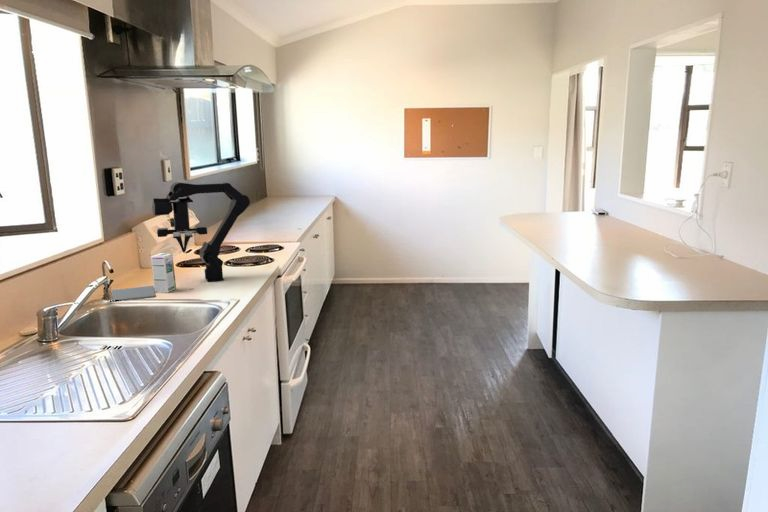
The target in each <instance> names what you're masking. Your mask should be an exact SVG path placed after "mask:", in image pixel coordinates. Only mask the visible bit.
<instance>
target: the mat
mask: <svg viewBox="0 0 768 512" xmlns="http://www.w3.org/2000/svg"><path fill="white" fill-rule="evenodd" d="M110 290H111V291H112V294H113V299H111V300H112V301H114V300H124V301H129V300H128V299H133V300H139V299H142V300H143V299H150V298H156V294H155V293H156V292H155V287H154V285H147V286H146V285H145V286H137V287H129V288H118V289H110ZM111 300H110V301H111ZM108 301H109V300H108V299H107V302H108Z"/></svg>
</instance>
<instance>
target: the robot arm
mask: <svg viewBox="0 0 768 512" xmlns="http://www.w3.org/2000/svg"><path fill="white" fill-rule="evenodd" d="M169 189H170V191H168V194H167V195H166V196H165V197H161V198H160V197H159V198H157V197H153V198H152V206H151V209H152V216H155V217H156V216H170V214H171V213H173V218H170V219H169V221H170V228H172V229H169V228H168V227H158V228H157V230H156V234H157V237H158V238H164V237H167V236H168V235H172V239H175V240H176V241H177V243H178V244H179V246H180V248H181V250H182V253H186V250H187V246H188V244H189V241H190V238H193V237H194V235H193V234H196V233H197V234H198V235H200V236H201V235H207V234H208V228H207V226H206V225H196V227H194V228H193V227H192V228H191V227H190V226H191V225H190V214H189V203H193V202H194V200H193V199H192V198H190V196H193V195H197V194H213V193H214V194H215V193H217V194H218V193H224V194H225V195H226V197H227V198H229V199H230V203H229V207H228V211H227V213H226V215H225V216H224V218H223V220H222V222H221V223H220V225H219V226H218V228H217V229H216V231H215V233H214V235H213V237H212V238H211V239H210V241H208V242H206V241H204V242H203V244H202V246H201V247H200V248H199V253H198V254H199V258H200V260H202V261H203V262H204V263H205V268H204V278H205V280H206V281H207V282H208V283H209V282H219V281H224V279H225V278H224V276H223V275H224V274H223V264H224V260H222V259H221V258H219V255H220V252H221V246H222V244H223V242H224V241H225V239H226V238H227V235H228V234H229V232H230V231H231V229H232V227H233V225H234V224H235V222H236V221H237V219H238V217H239V216H240V215H242V214H243V213H244V212H245V211H246V210H247V208H249V206H250V204H251V201H250V198H249V197H248V196H247V195H245V194H243V193H241V192H240V191H239V190H238V189H236V188H235V187H234V186H233V185H232V184H231V183H230V182H225V181H224V182H218V183H217V182H215V183H188V182H180V181H175V182H173V183H172V184H171V186H170V188H169ZM173 228H174V229H173ZM182 234H184V236H183V237H184V240H183V239H182V236H181V235H182Z"/></svg>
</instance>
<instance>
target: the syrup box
mask: <svg viewBox="0 0 768 512" xmlns="http://www.w3.org/2000/svg"><path fill="white" fill-rule="evenodd" d="M151 268H152V276H153V284H154V285H153V287H154V292H155V293H160V294H161V293H162V294H163V293H164V294H165V293H167V294H169V293H170V292H172V291H174V290H177V286H176V285H177V284H176V276H175V275H176V274H175V266H174V256H173V253H172V252H171V253H170V252H162V253H161V252H160V253H158V254H155V255H151Z"/></svg>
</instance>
